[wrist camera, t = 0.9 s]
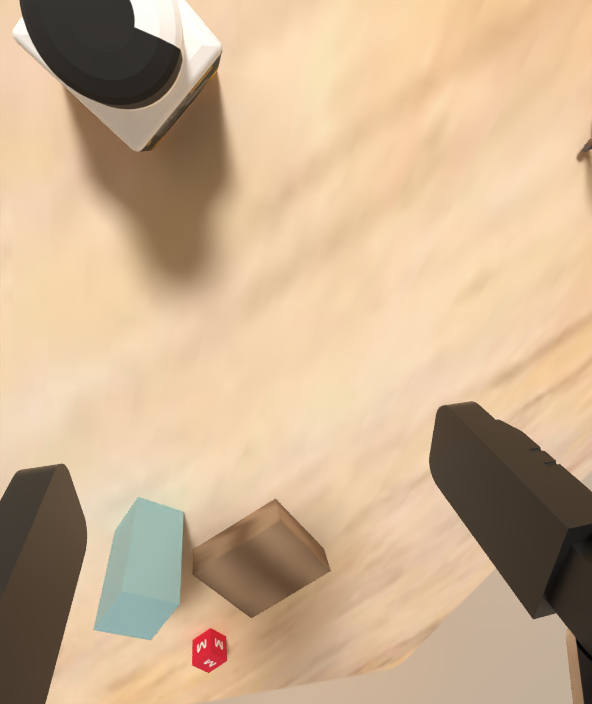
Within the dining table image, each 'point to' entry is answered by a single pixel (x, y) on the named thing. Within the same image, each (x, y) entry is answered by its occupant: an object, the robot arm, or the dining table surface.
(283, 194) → the dining table surface
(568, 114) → the dining table surface
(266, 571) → the walnut base plate
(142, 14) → the medicine bottle
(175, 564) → the teal pillar block
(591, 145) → the lion figurine
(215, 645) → the dice
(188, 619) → the dining table surface
